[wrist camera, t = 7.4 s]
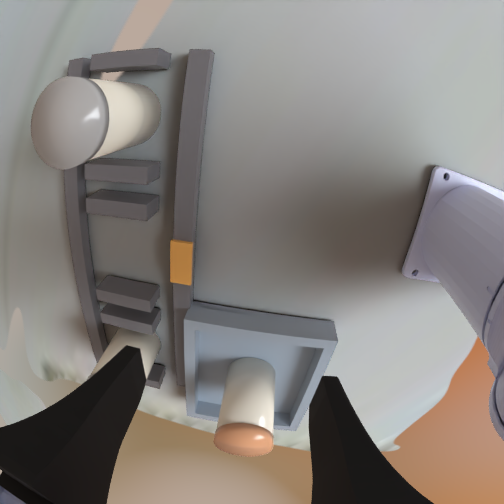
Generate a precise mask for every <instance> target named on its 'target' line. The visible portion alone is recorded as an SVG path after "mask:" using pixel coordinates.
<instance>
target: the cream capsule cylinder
mask: <svg viewBox="0 0 504 504" xmlns="http://www.w3.org/2000/svg"><path fill="white" fill-rule="evenodd" d="M160 119H161V105H160V102H159V99H158V97H157V95H156V94H155V93H154V92H153V91H152V90H151V89H150V88H148V87H147V86H144V85H141V84H134V83H127V82H118V81H109V80H98V79H88V78H84V77H71V76H69V77H62V78H59V79H57V80H55V81H53V82H52V83H51V84H49V85H48V86H47V87H46V88H45V89H44V91H43V92H42V93H41V95H40V96H39V98H38V100H37V102H36V104H35V107H34V110H33V114H32V119H31V135H32V140H33V144H34V147H35V149H36V151H37V153H38V155H39V157H40V158H41V159H42V160H43V161H44V162H45V163H46V164H47V165H49V166H51V167H53V168H55V169H61V170H64V169H70V168H73V167H75V166H78V165H81V164H83V163H85V162H87V161H89V160H91V159H94V158H97V157H100V156H103V155H106V154H109V153H112V152H115V151H118V150H121V149H125V148H128V147H131V146H135V145H138V144H141V143H143V142H145V141H146V140H148V139H149V138H150V137H151V136H152V135H153V134H154V133H155V131H156V129H157V128H158V125H159V123H160Z"/></svg>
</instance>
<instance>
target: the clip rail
mask: <svg viewBox="0 0 504 504" xmlns="http://www.w3.org/2000/svg"><path fill="white" fill-rule="evenodd" d="M214 54H215V53H214V52H213V51H212V50H203V49H190V50H189V56H188V63H187V70H186V78H185V86H184V94H183V102H182V111H181V121H180V131H179V143H178V155H177V169H176V186H175V206H174V237H173V239H172V240H171V241H170V282H173V308H174V338H175V359H176V375H177V385H180V386H185V359H184V318H185V315H186V313H187V311H188V309H190V307H191V304H192V302H193V284H194V260H195V241H196V224H197V209H198V195H199V183H200V171H201V160H202V150H203V140H204V131H205V122H206V113H207V105H208V97H209V89H210V81H211V74H212V67H213V60H214ZM170 60H171V54H170V53H168V52H166V51H164V50H162V49H160V48H151V49H137V50H126V51H117V52H108V53H101V54H94V55H92V58H91V59H87V58H80V59H74V60H69V67H68V75H67V77H69V76H71V77H84V78H88V79H89V75H90V71H99V72H106V73H108V72H119V71H133V70H158V69H169V67H170ZM159 177H160V161H146V160H131V159H113V158H100V159H97V160H94V161H91V162H88V163H86V164H85V163H83V164H81V165H78V166H75V167H73V168H70V169H64V185H65V200H66V212H67V222H68V231H69V239H70V246H71V253H72V259H73V265H74V271H75V277H76V282H77V287H78V292H79V297H80V301H81V306H82V310H83V314H84V318H85V322H86V326H87V330H88V334H89V338H90V341H91V345H92V348H93V352H94V355H95V358H96V361H97V363H98V362H99V360H100V358H101V357H102V355H103V353H104V352H105V350H106V348H107V347H108V345H107V340H106V336H105V332H104V327H103V323H106V324H110V325H113V326H117V327H121V328H125V329H129V330H133V331H137V332H141V333H145V334H149V335H153V334H154V332H155V330H156V328H157V326H158V324H159V322H160V320H161V311H160V309H157V308H154V306H155V304H156V302H157V301H158V299H159V297H160V291H159V285H153V284H148V283H143V282H138V281H133V280H129V279H124V278H119V277H114V276H110V275H108V276H107V277H106V278H105V279H104V280H103V281H102V282H101V283H100V285H99V286H98V287H97V288H96V286H95V280H94V273H93V266H92V259H91V251H90V242H89V233H88V221H87V213H90V214H98V215H105V216H113V217H120V218H128V219H135V220H142V221H147V220H148V219H150V218H151V217H152V216H153V215H154V214H155V213H156V212H157V211H158V210H159V195H150V194H141V193H132V192H122V191H112V190H99V191H98V192H96V193H94V194H92V195H90V196H89V197H87V198H86V190H85V180H97V181H109V182H121V183H132V184H143V185H148V184H149V183H151V182H153V181H154V180H156V179H157V178H159ZM98 300H100V301H104V302H108V303H107V304H106V305H105V307H104V308H103V309H102V311H101V312H100V308H99V303H98ZM102 322H103V323H102ZM164 376H165V366H161V365H157V364H153V366H152V368H151V371H150V373H149V375H148V378H147V380H146V384H145V385H147V386H150V387H154V388H158V389H160V386H161V384H162V381H163V378H164Z"/></svg>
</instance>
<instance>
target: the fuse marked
mask: <svg viewBox="0 0 504 504" xmlns="http://www.w3.org/2000/svg"><path fill="white" fill-rule="evenodd" d="M275 376H276V373H275V369H274V368H273V366H272V365H271V364H269V363H268V362H266V361H264V360H261V359H257V358H241V359H238V360H235V361H234V362H232V363H231V364H230V365H229V367H228V371H227V376H226V382H225V387H224V392H223V398H222V403H221V408H220V414H219V419H218V424H217V429H216V431H215V436H214V444H215V446H216V447H217V448H219V449H220V450H222V451H224V452H226V453H229V454H233V455H238V456H260V455H264V454H267V453H269V452H270V451H271V450H272V449H273V438H274V437H273V423H274V401H275Z"/></svg>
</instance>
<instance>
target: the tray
mask: <svg viewBox="0 0 504 504" xmlns="http://www.w3.org/2000/svg"><path fill="white" fill-rule="evenodd" d="M337 343H338V338H337V334H336V329H335V324H334V321H325V320H316V319H308V318H300V317H293V316H285V315H278V314H271V313H264V312H257V311H251V310H244V309H238V308H232V307H226V306H220V305H214V304H208V303H202V302H197V301H193V302H192V304H191V307H190V309H188V311H187V313H186V315H185V318H184V359H185V388H186V408H187V416H191V417H195V418H201V419H206V420H211V421H217V422H218V419H219V414H220V408H221V403H222V398H223V392H224V387H225V382H226V376H227V371H228V367H229V365H230V364H231V363H232V362H234V361H235V360H238V359H241V358H257V359H261V360H264V361H266V362H268V363H269V364H271V365H272V366H273V368H274V369H275V373H276V376H275V401H274V423H273V429H278V430H290V431H296V430H297V428H298V426H299V424H300V422H301V420H302V418H303V417H304V415H305V413H306V411H307V409H308V407H309V405H310V403H311V400H312V398H313V396H314V394H315V391H316V389H317V387H318V384H319V382H320V380H321V377H322V376H323V375H324V373H325V371H326V368H327V366H328V364H329V362H330V359H331V357H332V355H333V352H334V350H335V348H336V345H337Z"/></svg>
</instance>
